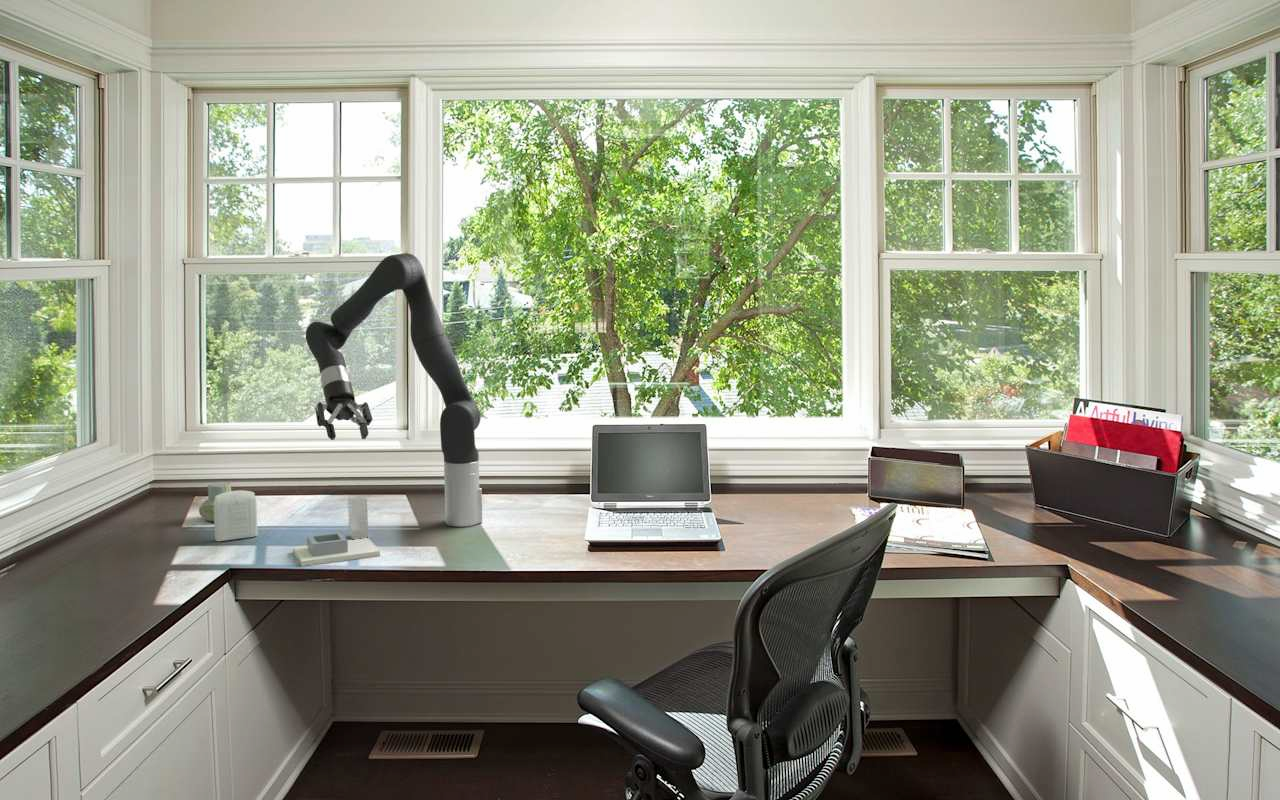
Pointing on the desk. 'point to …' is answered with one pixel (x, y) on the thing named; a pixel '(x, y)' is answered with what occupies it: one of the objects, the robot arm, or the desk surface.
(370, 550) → the docking board
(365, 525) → the grainy grey brick
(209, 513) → the air freshener
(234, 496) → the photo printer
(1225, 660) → the desk surface
